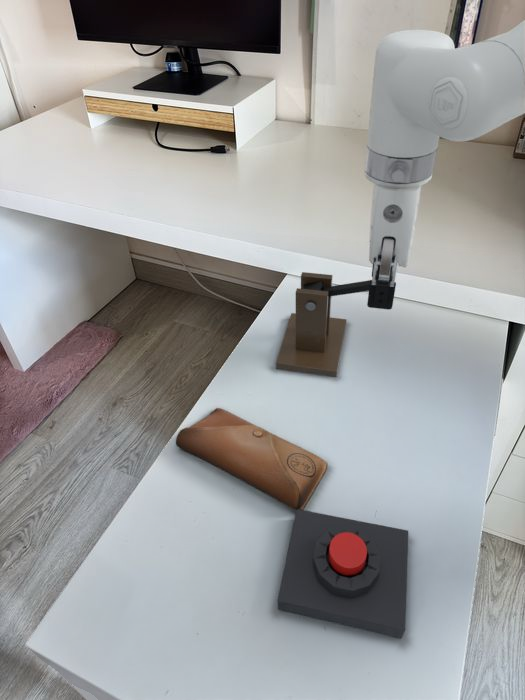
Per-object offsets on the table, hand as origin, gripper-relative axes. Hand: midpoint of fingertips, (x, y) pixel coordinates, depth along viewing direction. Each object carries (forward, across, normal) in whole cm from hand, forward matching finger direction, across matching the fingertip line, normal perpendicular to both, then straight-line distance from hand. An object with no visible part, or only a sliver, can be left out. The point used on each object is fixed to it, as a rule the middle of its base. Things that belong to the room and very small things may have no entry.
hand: (381, 291), depth 68 cm
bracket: (+12, 0, +9) cm, 15 cm away
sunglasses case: (+12, -22, +13) cm, 28 cm away
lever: (+1, 0, +4) cm, 5 cm away
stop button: (+8, -34, 0) cm, 35 cm away
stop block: (+12, -34, 0) cm, 36 cm away
